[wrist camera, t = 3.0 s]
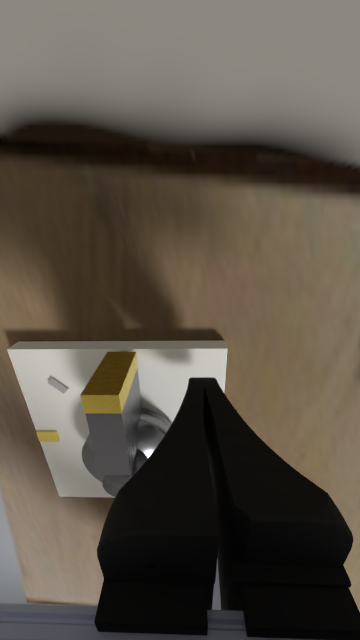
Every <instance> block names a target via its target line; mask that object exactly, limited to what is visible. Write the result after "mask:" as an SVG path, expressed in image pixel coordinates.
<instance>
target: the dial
mask: <svg viewBox="0 0 360 640" xmlns="http://www.w3.org/2000/svg"><path fill="white" fill-rule="evenodd" d="M80 396H81V401H82V405H83V409H84V413H85V415H86V419H87V423H88V427H89V435H88V437H87V439H86V441H85V443H84V445H83V448H82V460H83V463H84V465H85V467H86V469H87V470H88V471H89V473H90V474H91V475H92V476H94V477H95V478H96V479H97V480H99V481H100V482H102V486H103V488H104V490H105V491H106V492H107V493H108V494H110V495H112V496H114V497H116V495H117V493H118V491H119V490H120V489H121V488H122V487H123V485H124V484H125V483H126V482H127V481H128V480H129V479H130V478H131V477H132V476H133V475H134V474H135V473H136V472H137V471H138V470H139V468H140V467H141V466H142V465H143V464H144V462H145V461H146V460H147V459H148V458H149V456H150V455H151V454H152V453H153V451H154V450H155V449H156V447H157V446H158V444H159V443H160V442H161V440H162V439H163V437H164V436H165V434H166V432H167V431H168V429H169V428H170V426H171V423H170V422H169V421H168V420H167V419H166V418H165V417H163V416H162V415H160V414H159V413H157V412H155V411H152V410H150V409H147V408H143V407H142V405H141V396H140V386H139V377H138V364H137V354H136V352H107V353H106V355H105V356H104V358H103V359H102V361H101V363H100V364H99V366H98V367H97V369H96V371H95V372H94V374H93V375H92V377H91V379H90V380H89V382H88V383H87V385H86V387H85V388H84V390H83V391H82V393H81V395H80Z"/></svg>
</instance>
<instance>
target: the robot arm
mask: <svg viewBox="0 0 360 640" xmlns="http://www.w3.org/2000/svg"><path fill="white" fill-rule="evenodd" d="M352 543H353V536H352V533H351V531H350V529H349V527H348V525H347V523H346V522H345V520H344V518H343V516H342V515H341V513H340V511H339V510H338V508H337V507H336V505H335V504H334V502H333V501H332V499H331V497H330V496H329V494H328V493H327V492H325V491H324V490H322V489H321V488H320V487H318V486H317V485H315V484H314V483H313V482H311V481H310V480H308V479H307V478H306V477H304V476H303V475H301V474H300V473H299V472H297V471H296V470H295V469H294V468H292V467H291V466H290V465H289V464H287V463H286V462H285V461H284V460H283V459H282V458H281V457H279V456H278V455H277V454H276V453H275V452H274V451H273V450H272V449H270V448H269V447H268V446H267V445H266V444H265V443H264V442H263V441H262V440H261V439H260V438H259V437H258V436H257V435H256V434H255V433H254V431H253V430H252V429H251V428H250V427H249V426H248V425H247V424H246V422H245V421H244V420H243V419H242V418H241V416H240V415H239V414H238V412H237V411H236V410H235V408H234V407H233V406H232V404H231V403H230V401H229V400H228V398H227V397H226V395H225V394H224V392H223V391H222V389H221V387H220V385H219V384H218V382H217V380H216V379H215V378H214V377H191V378H190V379H189V382H188V387H187V391H186V394H185V396H184V399H183V401H182V404H181V406H180V409H179V411H178V413H177V415H176V417H175V419H174V421H173V422H172V424H171V426H170V428H169V429H168V431H167V432H166V434H165V436H164V437H163V439H162V440H161V442H160V443H159V444H158V446H157V447H156V449H155V450H154V451H153V453H152V454H151V455H150V456H149V458H148V459H147V460H146V461H145V462H144V464H143V465H142V466H141V467H140V468H139V470H138V471H137V472H136V473H135V474H134V475H133V476H132V477H131V478H130V479H129V480H128V481H127V482H126V483H125V484H124V485H123V487H122V488H121V489H120V490H119V491H118V493H117V495H116V497H115V499H114V501H113V503H112V506H111V508H110V510H109V513H108V515H107V518H106V521H105V524H104V527H103V530H102V534H101V537H100V541H99V545H98V548H97V556H98V560H99V563H100V566H101V570H102V573H103V576H104V582H103V586H102V590H101V595H100V599H99V603H98V606H79V605H47V604H13V603H0V640H360V612H359V610H358V608H357V605H356V603H355V601H354V599H353V597H352V594H351V592H350V590H349V588H348V587H350V586H351V582H350V579H349V577H348V575H347V573H346V570H345V568H344V566H343V564H344V562H345V560H346V558H347V556H348V554H349V552H350V550H351V547H352Z"/></svg>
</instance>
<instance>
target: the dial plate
mask: <svg viewBox="0 0 360 640" xmlns="http://www.w3.org/2000/svg"><path fill="white" fill-rule="evenodd" d="M7 350H8V353H9V356H10V359H11V362H12V364H13V367H14V370H15V373H16V376H17V379H18V381H19V384H20V387H21V390H22V393H23V395H24V398H25V401H26V404H27V407H28V409H29V412H30V415H31V418H32V421H33V423H34V426H35V429H36V433H37V436H38V439H39V442H40V443H41V446H42V449H43V451H44V454H45V457H46V460H47V463H48V465H49V468H50V471H51V474H52V477H53V479H54V482H55V485H56V488H57V491H58V493H59V496H60V497H109V498H115V497H114V496H112V495H110V494H108V493H107V492H106V491H105V490H104V488H103V486H102V482H100V481H99V480H97V479H96V478H95V477H94V476H92V475H91V474H90V473H89V471H88V470H87V469H86V467H85V465H84V463H83V460H82V448H83V445H84V443H85V441H86V439H87V437H88V435H89V427H88V423H87V419H86V415H85V413H84V409H83V405H82V401H81V396H80V395H81V393H82V391H83V390H84V388H85V387H86V385H87V383H88V382H89V380H90V379H91V377H92V375H93V374H94V372H95V371H96V369H97V367H98V366H99V364H100V363H101V361H102V359H103V358H104V356H105V355H106V353H107V352H136V354H137V364H138V377H139V386H140V396H141V405H142V407H143V408H147V409H150V410H152V411H155V412H157V413H159V414H160V415H162V416H163V417H165V418H166V419H167V420H168V421H169V422H170V423H171V424H172V422H173V421H174V419H175V417H176V415H177V413H178V411H179V409H180V406H181V404H182V401H183V399H184V396H185V394H186V391H187V387H188V382H189V379H190V378H191V377H214V378H215V379H216V380H217V382H218V384H219V385H220V387H221V389H222V391H223V392H224V390H225V376H226V362H227V346H226V343H225V340H224V341H19V342H17V343H16V344H14V345H13V346H11V347H10V348H8V349H7Z"/></svg>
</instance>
